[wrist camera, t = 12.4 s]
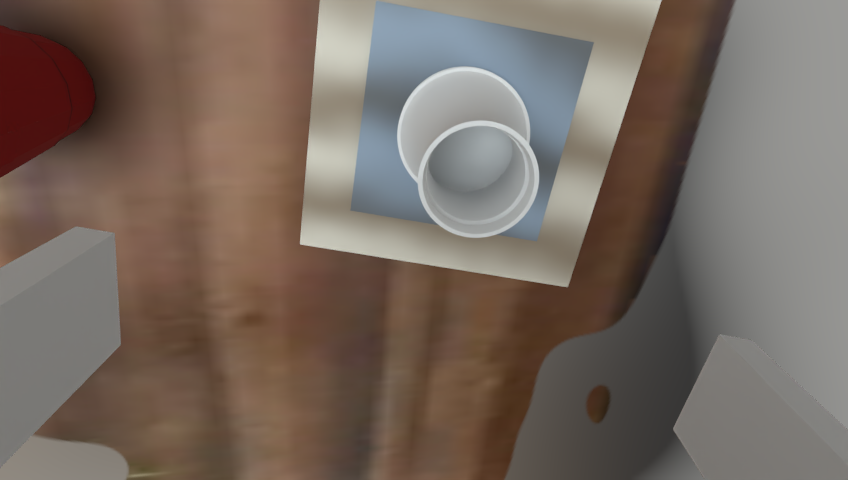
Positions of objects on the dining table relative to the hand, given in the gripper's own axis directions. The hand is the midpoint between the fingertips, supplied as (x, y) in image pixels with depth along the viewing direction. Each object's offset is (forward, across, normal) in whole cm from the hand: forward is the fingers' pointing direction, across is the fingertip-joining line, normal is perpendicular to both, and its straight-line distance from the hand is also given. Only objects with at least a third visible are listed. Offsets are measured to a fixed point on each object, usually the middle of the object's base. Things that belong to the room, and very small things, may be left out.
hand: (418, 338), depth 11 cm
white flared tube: (+20, -2, -1) cm, 20 cm away
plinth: (+23, -2, -1) cm, 23 cm away
